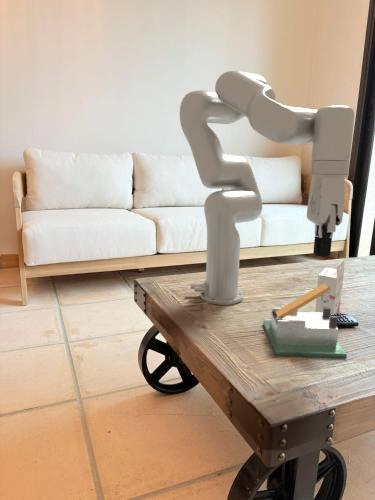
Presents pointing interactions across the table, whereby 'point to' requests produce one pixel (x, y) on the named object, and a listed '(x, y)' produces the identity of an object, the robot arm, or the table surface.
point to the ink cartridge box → (331, 289)
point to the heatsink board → (304, 348)
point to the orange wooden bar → (302, 300)
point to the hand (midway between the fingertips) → (321, 254)
